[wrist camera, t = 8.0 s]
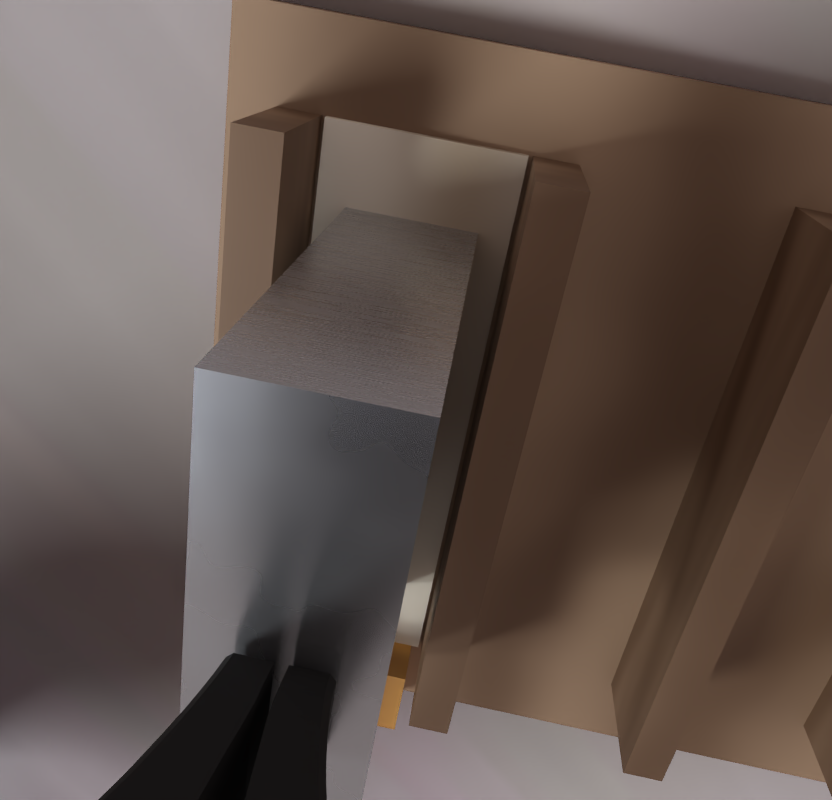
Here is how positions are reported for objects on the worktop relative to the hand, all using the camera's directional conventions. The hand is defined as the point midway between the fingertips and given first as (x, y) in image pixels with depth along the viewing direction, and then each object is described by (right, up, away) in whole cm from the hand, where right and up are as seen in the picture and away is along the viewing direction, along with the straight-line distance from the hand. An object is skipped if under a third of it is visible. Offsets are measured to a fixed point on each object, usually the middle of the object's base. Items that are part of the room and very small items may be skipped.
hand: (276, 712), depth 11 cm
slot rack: (+7, +3, +9) cm, 12 cm away
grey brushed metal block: (+1, +4, +8) cm, 9 cm away
